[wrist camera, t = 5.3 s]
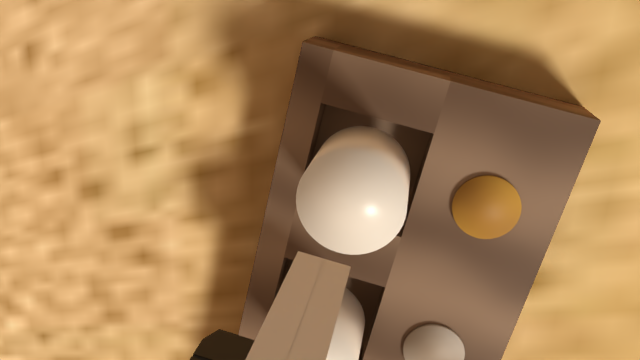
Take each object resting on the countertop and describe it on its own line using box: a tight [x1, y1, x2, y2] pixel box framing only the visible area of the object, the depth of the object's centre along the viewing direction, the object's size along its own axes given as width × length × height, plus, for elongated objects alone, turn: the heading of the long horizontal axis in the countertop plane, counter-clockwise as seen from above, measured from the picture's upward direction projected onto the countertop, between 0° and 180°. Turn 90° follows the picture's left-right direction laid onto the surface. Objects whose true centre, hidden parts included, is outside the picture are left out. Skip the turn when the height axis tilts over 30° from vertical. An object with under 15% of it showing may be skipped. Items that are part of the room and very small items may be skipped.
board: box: [238, 36, 601, 360], centre depth 31 cm, size 26×13×3 cm, turn 167°
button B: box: [326, 288, 365, 360], centre depth 28 cm, size 4×4×4 cm
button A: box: [296, 126, 410, 255], centre depth 25 cm, size 4×4×4 cm
